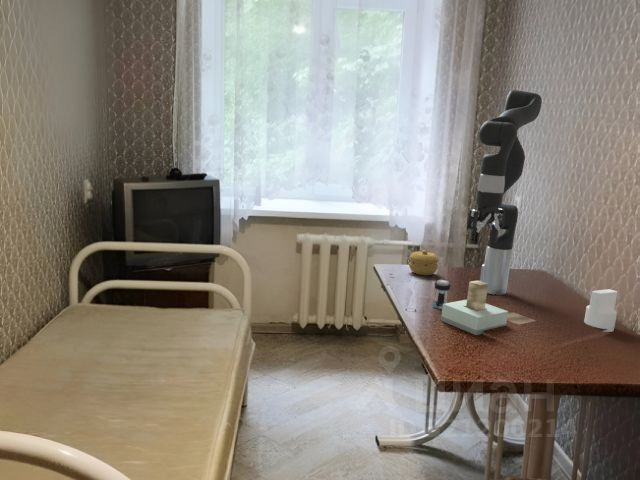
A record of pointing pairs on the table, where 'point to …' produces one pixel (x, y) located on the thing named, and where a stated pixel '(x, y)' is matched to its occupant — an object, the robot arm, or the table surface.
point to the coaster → (518, 318)
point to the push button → (441, 293)
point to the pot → (423, 262)
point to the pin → (477, 295)
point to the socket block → (473, 317)
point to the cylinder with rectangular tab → (602, 310)
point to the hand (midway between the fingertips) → (483, 243)
